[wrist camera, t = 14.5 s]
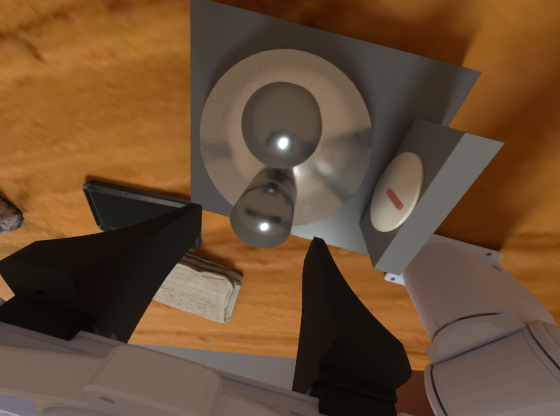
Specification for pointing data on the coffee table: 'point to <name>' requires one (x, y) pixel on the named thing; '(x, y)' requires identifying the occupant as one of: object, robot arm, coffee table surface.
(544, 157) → the coffee table surface
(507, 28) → the coffee table surface
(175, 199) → the phone
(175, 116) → the coffee table surface
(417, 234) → the scale
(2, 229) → the geode
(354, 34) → the coffee table surface
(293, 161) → the cylinder
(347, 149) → the pan
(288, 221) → the cylinder
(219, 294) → the washcloth
